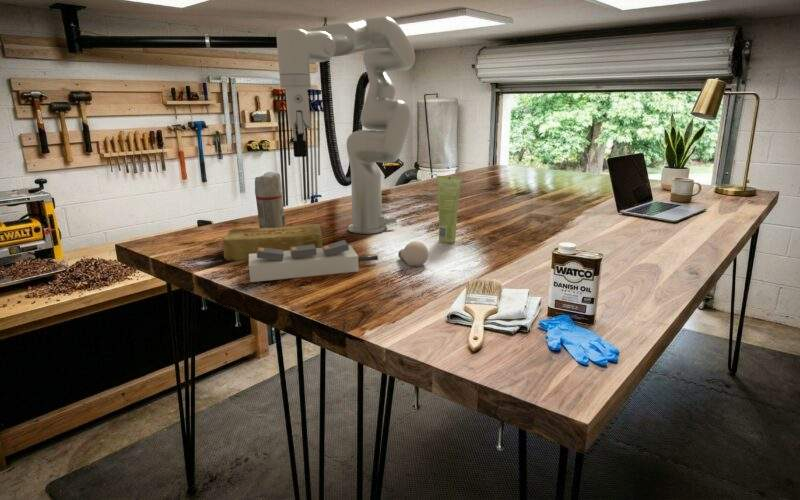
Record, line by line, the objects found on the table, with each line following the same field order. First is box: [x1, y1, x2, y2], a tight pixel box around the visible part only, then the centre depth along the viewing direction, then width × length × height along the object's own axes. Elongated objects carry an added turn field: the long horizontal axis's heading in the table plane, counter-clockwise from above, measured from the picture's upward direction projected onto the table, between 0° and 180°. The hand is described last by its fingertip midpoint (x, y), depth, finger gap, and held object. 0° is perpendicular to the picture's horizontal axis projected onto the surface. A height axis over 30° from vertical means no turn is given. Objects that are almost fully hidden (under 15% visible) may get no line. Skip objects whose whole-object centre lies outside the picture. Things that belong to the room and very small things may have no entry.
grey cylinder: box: [254, 171, 287, 228], centre depth 155 cm, size 8×8×20 cm
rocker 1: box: [257, 247, 284, 261], centre depth 123 cm, size 6×4×2 cm, turn 107°
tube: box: [435, 175, 463, 244], centre depth 149 cm, size 6×5×20 cm
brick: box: [222, 223, 324, 262], centre depth 142 cm, size 13×26×7 cm, turn 101°
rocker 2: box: [290, 244, 317, 258], centre depth 125 cm, size 6×4×2 cm, turn 106°
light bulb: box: [397, 240, 430, 268], centre depth 132 cm, size 7×7×11 cm
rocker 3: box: [322, 239, 349, 257], centre depth 127 cm, size 6×4×2 cm, turn 105°
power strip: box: [248, 244, 379, 283], centre depth 128 cm, size 32×10×4 cm, turn 106°
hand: (300, 156), depth 132 cm, fingers closed
